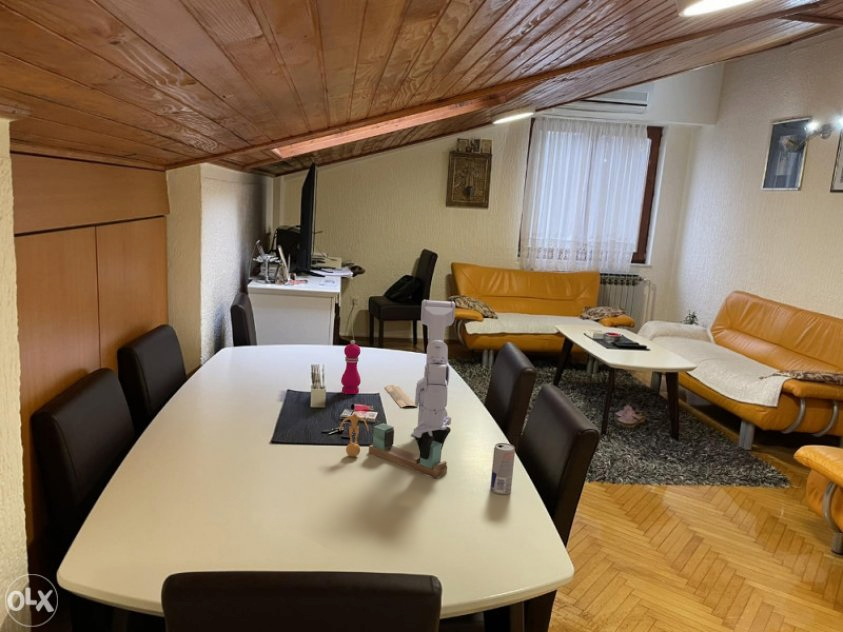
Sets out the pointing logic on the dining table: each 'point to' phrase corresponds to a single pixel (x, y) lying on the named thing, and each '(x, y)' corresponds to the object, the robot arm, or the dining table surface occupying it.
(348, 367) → the pepper mill
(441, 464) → the rail
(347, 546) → the dining table surface
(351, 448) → the figurine
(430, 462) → the block
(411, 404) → the tan flat bar
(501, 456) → the energy drink
